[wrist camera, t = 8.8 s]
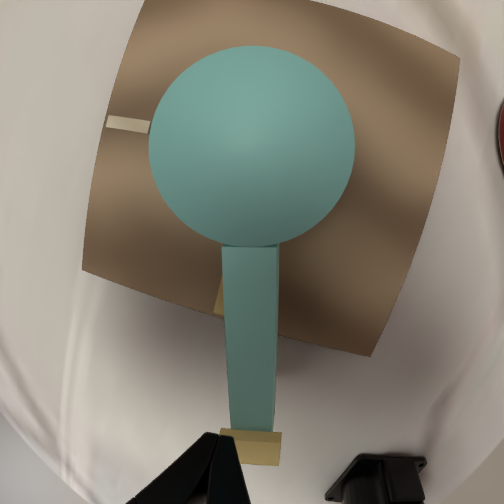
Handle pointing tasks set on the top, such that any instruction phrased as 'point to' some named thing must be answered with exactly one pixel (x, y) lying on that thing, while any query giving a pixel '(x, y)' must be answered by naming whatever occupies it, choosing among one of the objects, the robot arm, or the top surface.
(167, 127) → the teal scoop
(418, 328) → the top surface
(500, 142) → the soda can
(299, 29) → the brown wooden flat board
